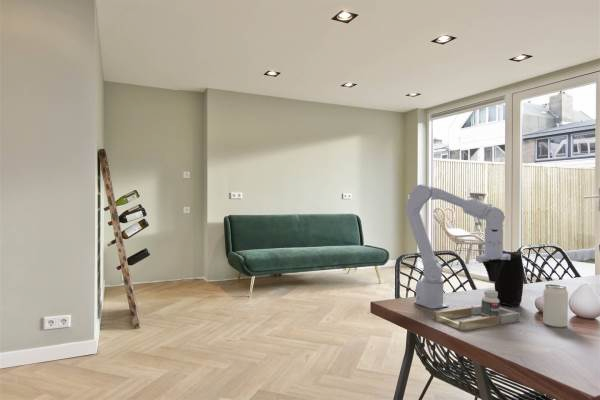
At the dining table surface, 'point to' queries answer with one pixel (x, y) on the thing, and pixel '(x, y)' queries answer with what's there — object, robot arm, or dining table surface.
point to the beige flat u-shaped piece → (463, 325)
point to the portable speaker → (510, 280)
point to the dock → (500, 314)
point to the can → (555, 306)
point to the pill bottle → (490, 303)
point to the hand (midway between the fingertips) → (493, 281)
